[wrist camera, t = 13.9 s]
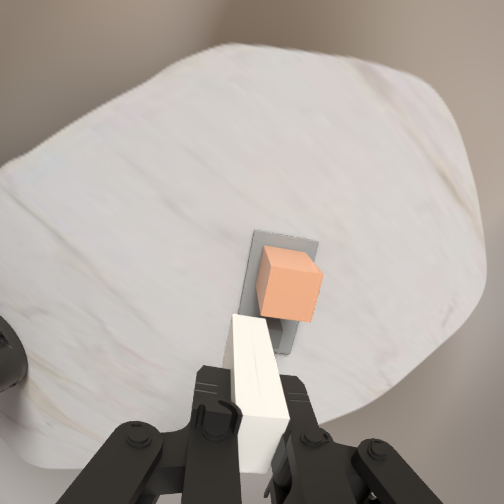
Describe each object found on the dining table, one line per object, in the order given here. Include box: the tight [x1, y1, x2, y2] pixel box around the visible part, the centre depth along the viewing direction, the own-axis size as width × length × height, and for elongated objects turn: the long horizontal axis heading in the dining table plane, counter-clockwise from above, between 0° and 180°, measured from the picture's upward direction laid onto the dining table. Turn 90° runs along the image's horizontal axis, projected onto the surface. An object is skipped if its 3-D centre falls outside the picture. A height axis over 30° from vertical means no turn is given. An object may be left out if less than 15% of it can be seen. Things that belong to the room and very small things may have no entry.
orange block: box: [256, 245, 324, 322], centre depth 35 cm, size 5×5×9 cm
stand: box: [238, 230, 319, 354], centre depth 37 cm, size 8×16×9 cm, turn 170°
